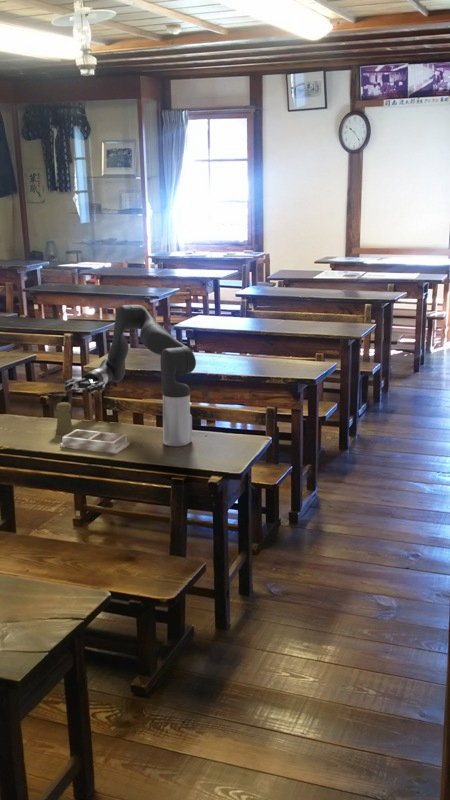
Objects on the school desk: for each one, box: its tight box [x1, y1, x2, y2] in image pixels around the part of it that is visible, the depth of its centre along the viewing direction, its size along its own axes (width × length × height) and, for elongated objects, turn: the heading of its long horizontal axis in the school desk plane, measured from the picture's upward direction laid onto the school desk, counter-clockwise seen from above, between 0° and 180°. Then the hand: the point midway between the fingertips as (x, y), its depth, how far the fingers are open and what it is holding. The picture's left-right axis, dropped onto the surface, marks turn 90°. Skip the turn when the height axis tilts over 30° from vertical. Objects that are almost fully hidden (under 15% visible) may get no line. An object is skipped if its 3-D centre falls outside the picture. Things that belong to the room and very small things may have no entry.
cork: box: [55, 401, 74, 436], centre depth 281 cm, size 6×6×11 cm
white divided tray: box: [59, 429, 130, 455], centre depth 267 cm, size 21×10×4 cm, turn 72°
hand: (76, 389), depth 290 cm, fingers open, 8 cm apart
